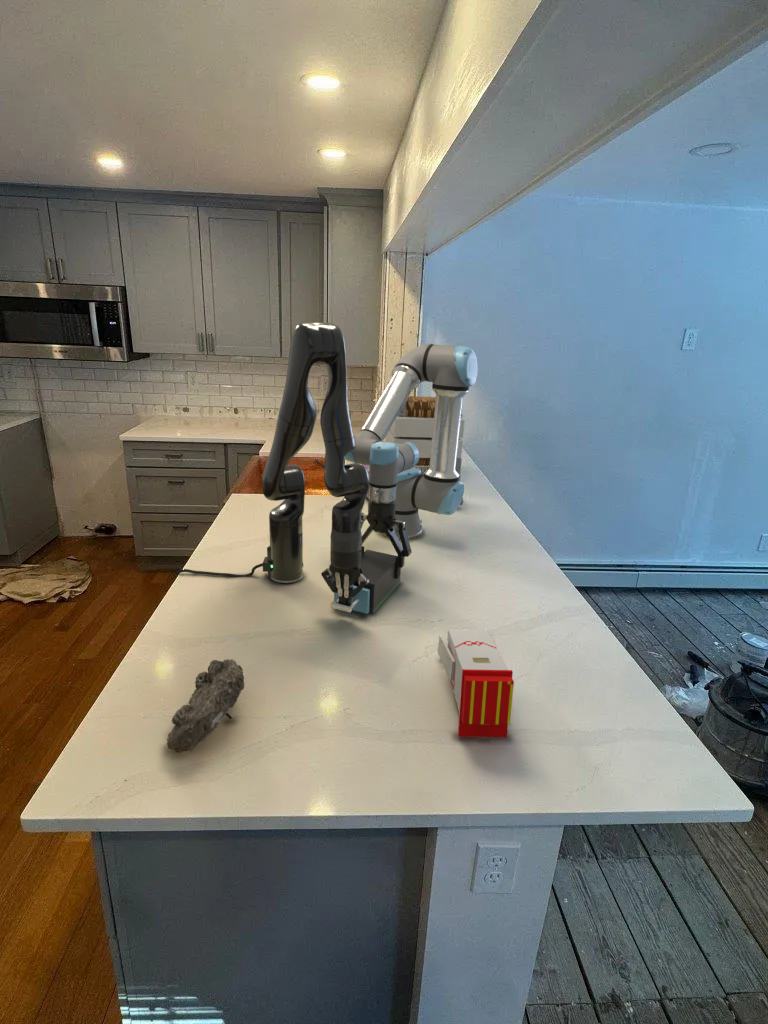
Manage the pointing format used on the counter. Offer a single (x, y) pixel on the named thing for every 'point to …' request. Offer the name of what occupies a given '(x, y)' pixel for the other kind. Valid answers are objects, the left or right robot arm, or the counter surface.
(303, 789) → the counter surface
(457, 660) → the toy
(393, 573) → the cabinet
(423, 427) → the light grey slatted crate
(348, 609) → the drawer
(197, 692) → the fossil
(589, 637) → the counter surface
